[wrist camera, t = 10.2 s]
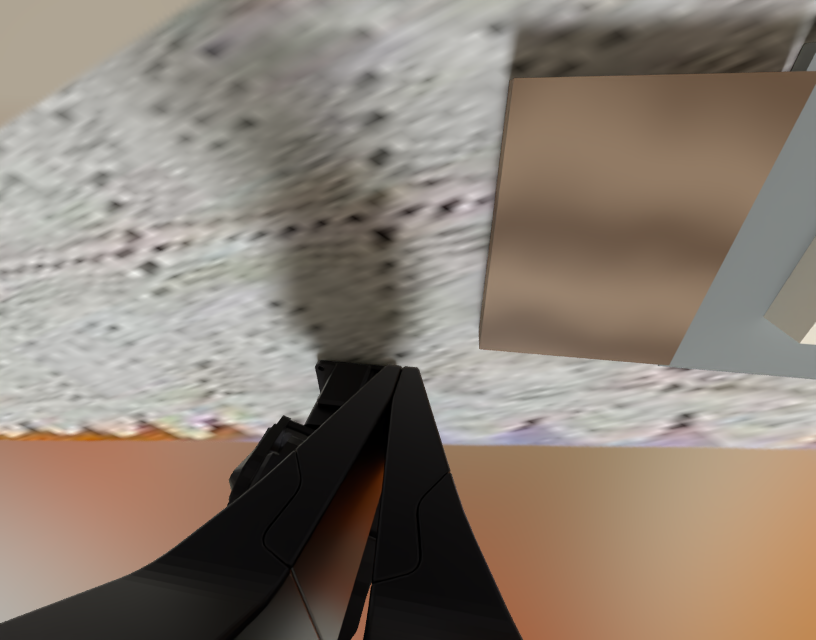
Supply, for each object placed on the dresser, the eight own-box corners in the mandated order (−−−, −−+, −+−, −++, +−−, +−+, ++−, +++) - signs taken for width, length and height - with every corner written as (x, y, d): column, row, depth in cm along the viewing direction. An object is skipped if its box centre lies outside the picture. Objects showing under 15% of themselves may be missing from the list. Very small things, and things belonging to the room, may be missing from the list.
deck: (653, 345, 22) (669, 365, 20) (478, 331, 23) (479, 349, 21) (781, 75, 14) (822, 70, 12) (509, 80, 16) (513, 78, 14)
